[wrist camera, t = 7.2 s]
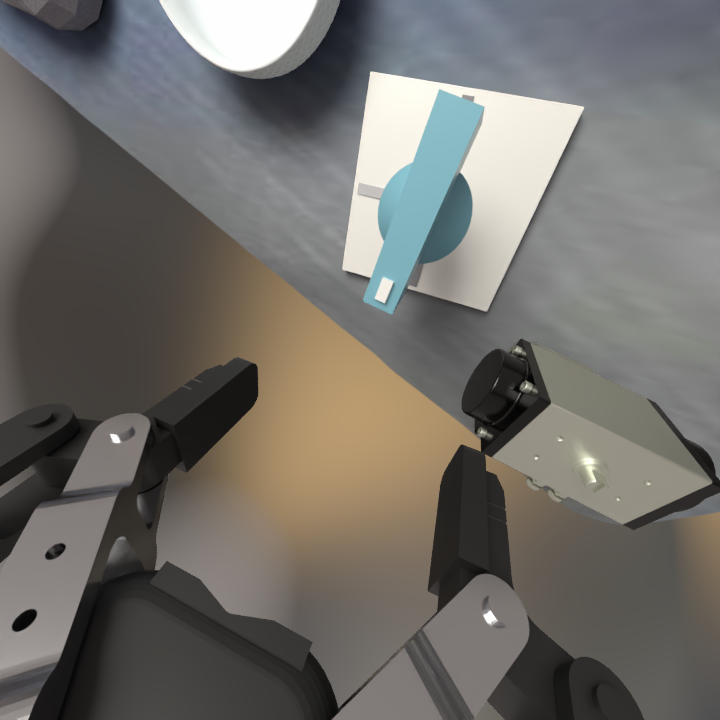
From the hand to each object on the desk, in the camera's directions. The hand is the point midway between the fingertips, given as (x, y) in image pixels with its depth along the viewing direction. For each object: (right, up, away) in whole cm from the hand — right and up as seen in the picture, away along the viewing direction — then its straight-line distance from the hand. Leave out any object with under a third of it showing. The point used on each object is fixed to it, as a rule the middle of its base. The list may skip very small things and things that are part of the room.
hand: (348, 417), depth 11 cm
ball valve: (+23, +1, +25) cm, 34 cm away
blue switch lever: (+6, +14, +13) cm, 21 cm away
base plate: (+9, +18, +19) cm, 28 cm away
